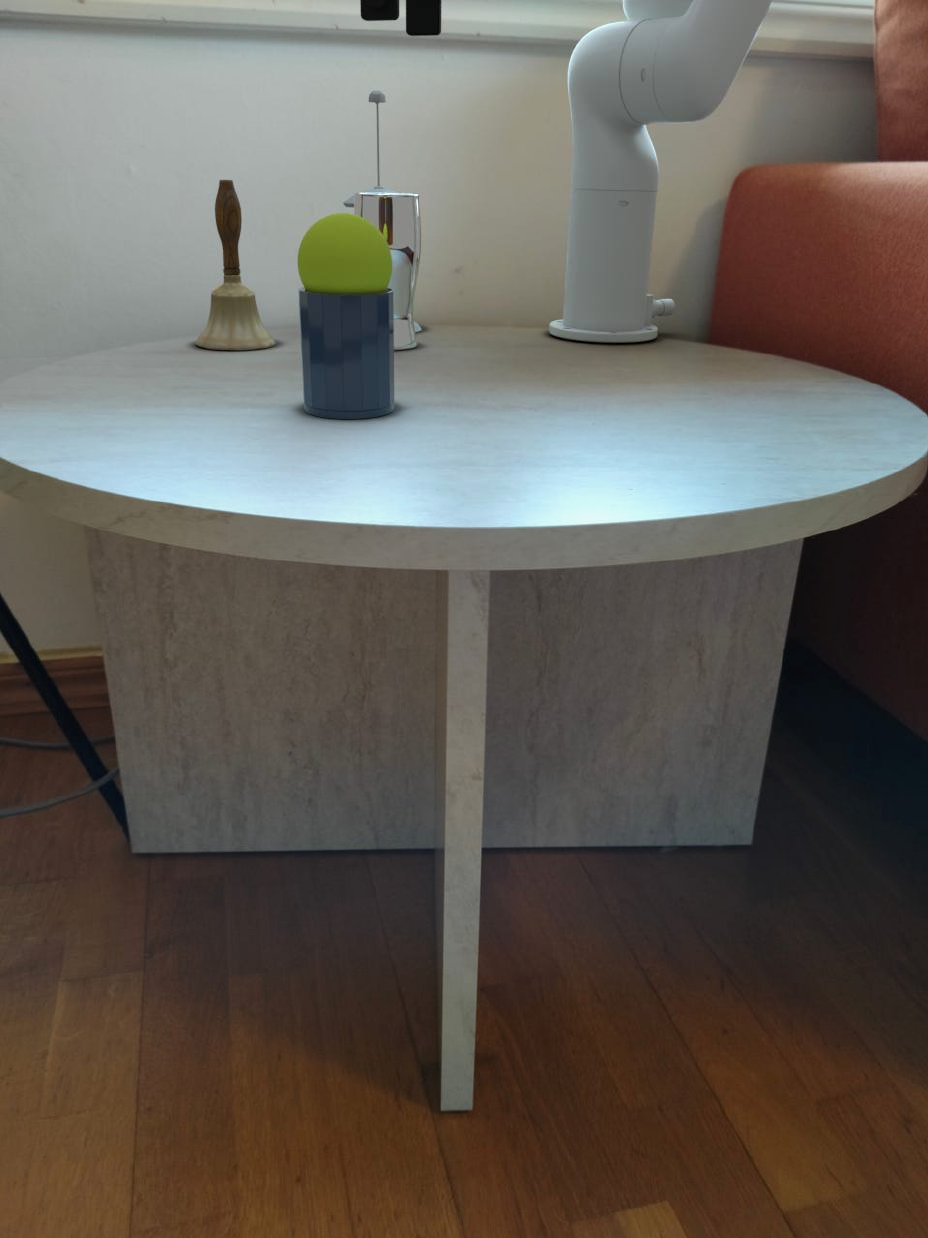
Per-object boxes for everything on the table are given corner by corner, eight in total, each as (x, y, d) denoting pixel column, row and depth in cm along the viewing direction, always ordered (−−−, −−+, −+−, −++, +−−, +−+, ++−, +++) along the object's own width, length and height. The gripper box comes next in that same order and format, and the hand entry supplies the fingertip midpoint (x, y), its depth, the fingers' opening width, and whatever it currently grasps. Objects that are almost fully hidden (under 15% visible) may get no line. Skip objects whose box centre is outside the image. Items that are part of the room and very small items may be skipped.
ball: (364, 306, 79) (363, 211, 76) (409, 316, 74) (410, 215, 71) (283, 309, 75) (279, 210, 72) (325, 320, 70) (322, 213, 67)
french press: (391, 337, 111) (388, 85, 100) (309, 328, 116) (299, 87, 106) (437, 327, 118) (439, 92, 108) (359, 319, 124) (353, 94, 113)
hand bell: (288, 340, 107) (280, 180, 101) (255, 352, 100) (244, 180, 93) (218, 336, 109) (206, 178, 102) (181, 347, 102) (164, 178, 95)
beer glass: (411, 352, 102) (411, 194, 96) (347, 348, 103) (342, 193, 97) (427, 342, 108) (428, 193, 102) (366, 339, 109) (363, 192, 103)
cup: (366, 396, 82) (364, 282, 78) (410, 412, 77) (409, 292, 73) (289, 405, 78) (283, 286, 75) (329, 423, 73) (325, 296, 69)
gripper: (404, -274, 69) (405, 12, 76) (481, -194, 84) (476, 39, 91) (307, -263, 71) (317, 14, 78) (399, -186, 86) (400, 40, 93)
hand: (402, 27), depth 84 cm, fingers open, 9 cm apart
